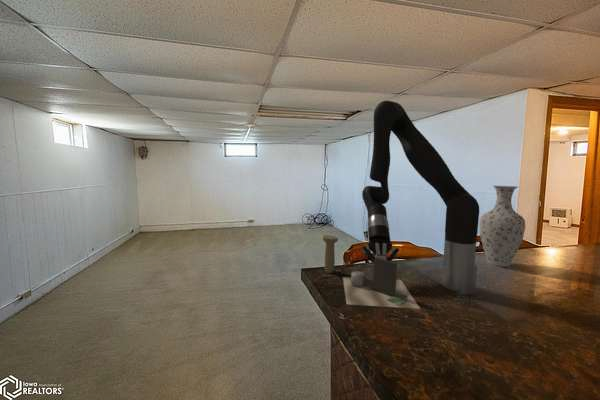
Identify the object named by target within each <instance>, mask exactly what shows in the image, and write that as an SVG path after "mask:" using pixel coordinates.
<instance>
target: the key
mask: <svg viewBox="0 0 600 400" xmlns="http://www.w3.org/2000/svg"><path fill="white" fill-rule="evenodd" d="M380 258H381V257H380ZM380 258H374V263H373V279H372V278H371V277H368V276H367V274H366V272H363V271H358V270H356V271H352V272H350V277H351V284H352V285H354V286H368V287H372V288H373V290H376V291H379V292H382V293H385V294H388V295H391V296H394V295H397V296H400V297H403V298H406V299H407V297H408V296H407V295H403V294H400V293H397V292H396V280H397V267H398V262H396V261H393V260H392V261H388V260H384V259H380Z"/></svg>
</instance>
